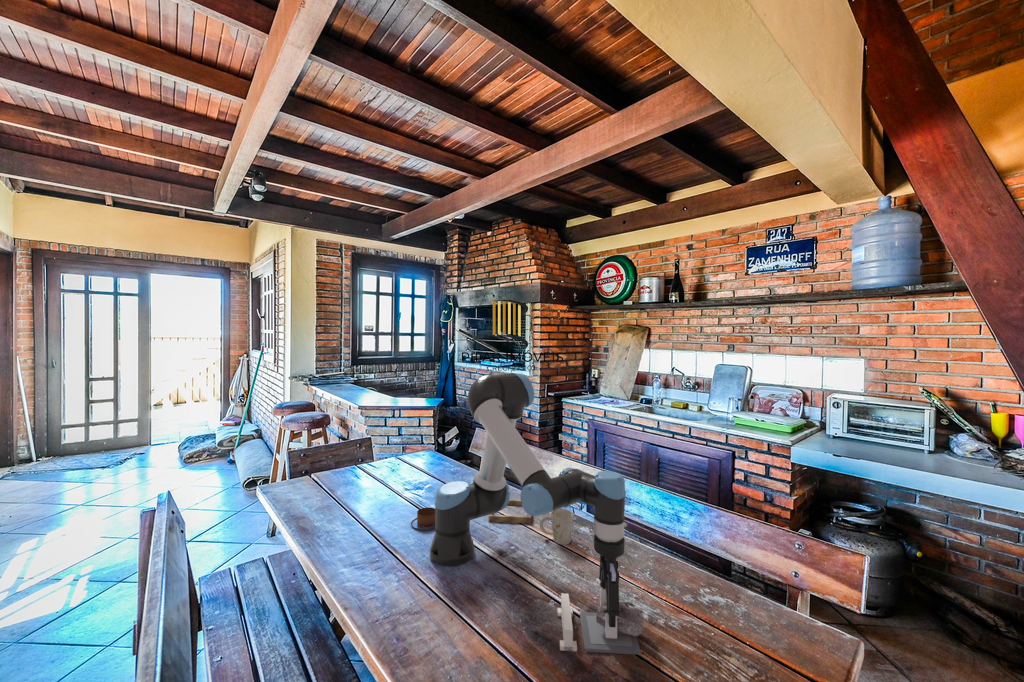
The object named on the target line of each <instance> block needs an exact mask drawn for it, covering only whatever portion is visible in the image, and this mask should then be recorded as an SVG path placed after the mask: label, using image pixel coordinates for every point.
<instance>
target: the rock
mask: <svg viewBox="0 0 1024 682" xmlns="http://www.w3.org/2000/svg"><path fill="white" fill-rule="evenodd" d="M604 609H605V610H606V609H607V604H604V605H603V606H600V605H599V606H598V607H597V609H596V613H597V616H596V621H597V623H598V624H600V625H602V626H603V627H604V628H605V617H606V613H604ZM619 612H620V614H619V616H617V631H618V632H622V633H627V634H629V635H633V636H636V637H639V636H640V634H641V633H642V632H643V629H644V627H645V626H644V625H645V617H644V615H643V611H642V610H641V609H639V608H638V609H637V608H634V607H631V606H629V603H627V602H625V601H623V600H622V601H620V600H619Z"/></svg>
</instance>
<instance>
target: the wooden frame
mask: <svg viewBox="0 0 1024 682" xmlns="http://www.w3.org/2000/svg"><path fill="white" fill-rule="evenodd" d="M508 505H509V506H522V501H521V499H509V502H508V504H507V506H508ZM488 522H498V523H513V524H515V523H519V524H532V515H529V514H528V515H503V514H501V515H500V514H497V515H496V514H490V515H488Z"/></svg>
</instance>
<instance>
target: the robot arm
mask: <svg viewBox="0 0 1024 682" xmlns="http://www.w3.org/2000/svg"><path fill="white" fill-rule="evenodd" d="M534 400H535V390H534V386H533V383H532V380H530V377H528V376H527V375H526V374H524V373H517V372H516V373H515V372H511V373H502V374H500V373H498V374H485V375H482V376H480V377H478V378H476V380H474V382H472V384H471V385H470V387H469V389H468V393H467V405H468V410H469V412H470V414H471V416H472V417H473V419H474V420H475V422H476V423H478V424H481V425H482V427H483V428H484V430H485V431H486V433H487V437H486V441H485V446H484V450H483V455H482V460H481V464H480V468H479V470H478V471H477V472H476V473H475V474H474V476H473V481H472V483H468V482H466V481H461V480H458V481H456V480H455V481H449V482H447V483H445V484H442V485H441V486H440V487H439V488H438V489H437V491H436V493H435V499H434V509H435V524H434V525H435V526H434V527H435V529H434V531H435V533H434V536H433V539H432V541H431V546H430V548H429V559H430V560H431V561H432V562H433V563H434V564H436V565H440V566H444V567H456V566H460V565H464V564H466V563H469V561H471V560H473V558H474V556H475V555H476V554H475V551H476V550H475V549H476V547H475V544H474V539H473V537H472V534H471V533H472V532H471V531H470V529H471V527H470V526H471V524H470V523H471V521H472V520H475V519H480V518H482V517H486V516H489V515H490V514H493V515H495V514H497V513H499V512H501V511H502V510H504V509H505V508H506V507H507V506H508V505H507V504H508V502H509V500H510V497H511V495H510V494H511V493H510V491H509V490H510V487H509V484H508V482H507V479H506V477H505V476H504V475H505V471H506V467H509V469H510V471H511V473H513V474H512V475H514V477H515V479H516V480H517V481H518V483H519V484H520V487H521V488H522V489H521V490H520V495H519V496H520V499H519V500H521V501H522V505H521V506H522V508H523V510H524V511H525V513H527V514H528V516H529V515H531V517H538V516H541V515H547V514H549V513H551V512H552V511H553V510H557V509H562V508H565V507H568V506H571V505H573V504H577V503H583V504H585V505H588V506H590V507H593V511H594V512H593V515H594V516H593V534H594V535H593V549H594V551H595V552H596V553H597V554H598V555H599V575H598V576H599V577H598V580H599V582H600V583H599V586H600V588H599V591H600V597H599V602H600V604H599V607H600V606H603V605H604V604H607V609H606V610H605V609H604V613H606V617H605V637H606V638H616V639H617V616H619V614H620V612H619V601H620V584H619V583H620V572H619V561H618V560H617V558H619V557H622V556H623V555H624V554H625V547H626V545H625V541H626V540H625V528H626V527H627V526H628V523H627V522H626V521H625V519H626V518H625V507H626V495H627V491H626V485H625V483H626V482H625V481H626V480H625V478H624V476H623V475H622V474H620V473H619V472H615V471H610V470H602V471H601V470H600V471H598V472H597V473H595V475H593V474H591V473H589V472H586V471H583V470H581V469H579V468H574V467H565V468H563V470H562V471H560V473H559V474H558V476H555V477H551V476H550V475H549V473H548V472H547V470H545V468H544V466H543V465H542V464H541V463H540V461H539V459H538V458H537V456H536V455H535V454H534V453H533V451H532V449H531V448H530V447H529V445H528V444H527V442H526V441H525V439H524V438H523V437H522V435H521V434H520V432H519V431H518V429H517V428H516V425H517V421H518V420H520V419H521V418H522V417H523V415H524V410H525V408H528V407H530V406H531V405H532V404H533V402H534Z"/></svg>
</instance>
